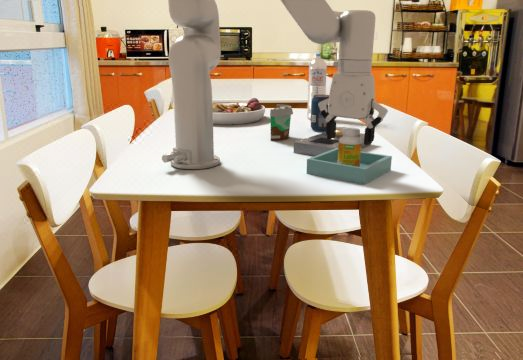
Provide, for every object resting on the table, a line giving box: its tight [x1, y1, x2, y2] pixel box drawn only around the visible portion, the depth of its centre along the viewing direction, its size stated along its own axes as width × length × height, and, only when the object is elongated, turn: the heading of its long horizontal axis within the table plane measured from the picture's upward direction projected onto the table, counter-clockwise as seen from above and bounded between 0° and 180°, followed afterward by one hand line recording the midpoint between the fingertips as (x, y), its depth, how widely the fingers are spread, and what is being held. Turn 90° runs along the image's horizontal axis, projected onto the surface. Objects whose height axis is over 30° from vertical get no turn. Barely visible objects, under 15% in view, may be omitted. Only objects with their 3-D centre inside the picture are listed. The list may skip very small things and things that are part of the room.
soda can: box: [310, 94, 329, 133], centre depth 166 cm, size 7×7×12 cm
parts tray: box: [306, 148, 393, 185], centre depth 116 cm, size 15×15×4 cm
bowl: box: [212, 97, 266, 126], centre depth 188 cm, size 30×30×8 cm
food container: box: [269, 103, 294, 142], centre depth 153 cm, size 12×6×10 cm, turn 168°
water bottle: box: [306, 52, 328, 121], centre depth 186 cm, size 7×7×25 cm
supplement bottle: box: [337, 126, 362, 167], centre depth 115 cm, size 5×5×10 cm
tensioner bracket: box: [293, 126, 372, 157], centre depth 140 cm, size 23×13×4 cm, turn 143°
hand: (349, 141), depth 115 cm, fingers open, 9 cm apart
